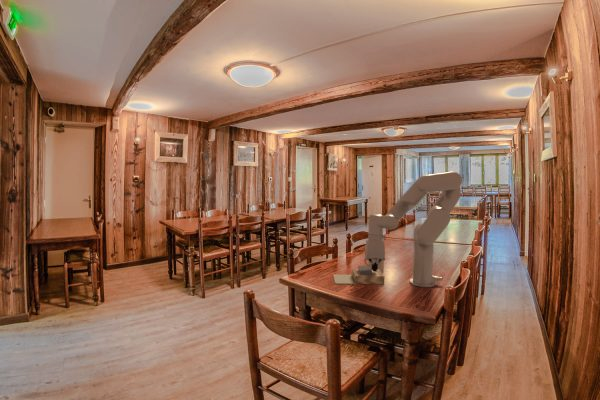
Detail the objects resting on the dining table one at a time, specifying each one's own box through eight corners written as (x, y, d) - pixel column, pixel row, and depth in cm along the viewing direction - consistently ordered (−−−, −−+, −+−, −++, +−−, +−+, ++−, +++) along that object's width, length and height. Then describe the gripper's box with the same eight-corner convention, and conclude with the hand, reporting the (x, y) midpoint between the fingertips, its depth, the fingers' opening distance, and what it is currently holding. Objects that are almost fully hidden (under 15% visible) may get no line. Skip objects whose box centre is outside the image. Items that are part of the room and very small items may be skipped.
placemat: (351, 275, 177) (351, 274, 177) (354, 284, 162) (354, 283, 162) (333, 275, 178) (333, 274, 178) (335, 284, 163) (335, 283, 163)
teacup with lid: (386, 270, 186) (386, 251, 185) (380, 274, 179) (380, 254, 178) (367, 267, 193) (367, 248, 193) (361, 270, 186) (361, 251, 185)
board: (379, 276, 176) (379, 269, 175) (384, 284, 163) (384, 276, 162) (352, 275, 176) (352, 268, 176) (355, 283, 163) (355, 276, 163)
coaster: (369, 270, 174) (369, 265, 174) (372, 275, 165) (372, 270, 165) (358, 270, 174) (358, 265, 174) (360, 274, 165) (360, 270, 165)
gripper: (387, 236, 171) (386, 269, 173) (360, 235, 172) (359, 268, 173) (391, 238, 164) (390, 273, 165) (362, 238, 164) (361, 272, 166)
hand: (374, 270), depth 169 cm, fingers closed
